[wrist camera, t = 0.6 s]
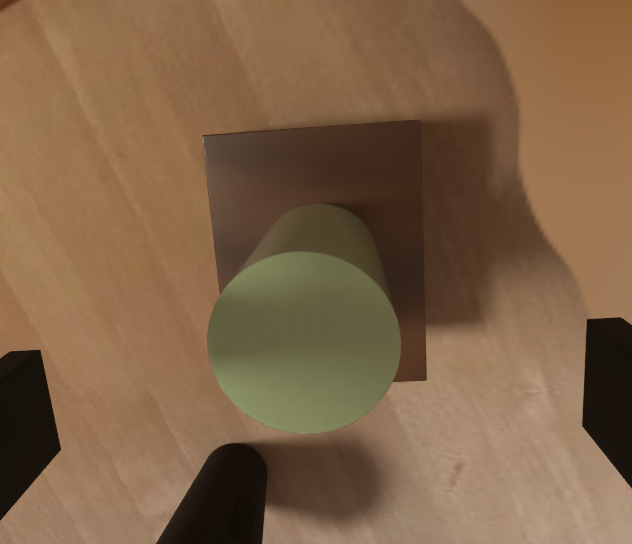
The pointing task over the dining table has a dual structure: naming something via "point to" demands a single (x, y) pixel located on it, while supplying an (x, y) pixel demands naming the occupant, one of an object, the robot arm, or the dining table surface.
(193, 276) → the dining table surface
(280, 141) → the walnut chest
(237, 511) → the drinking cup
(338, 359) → the canister
